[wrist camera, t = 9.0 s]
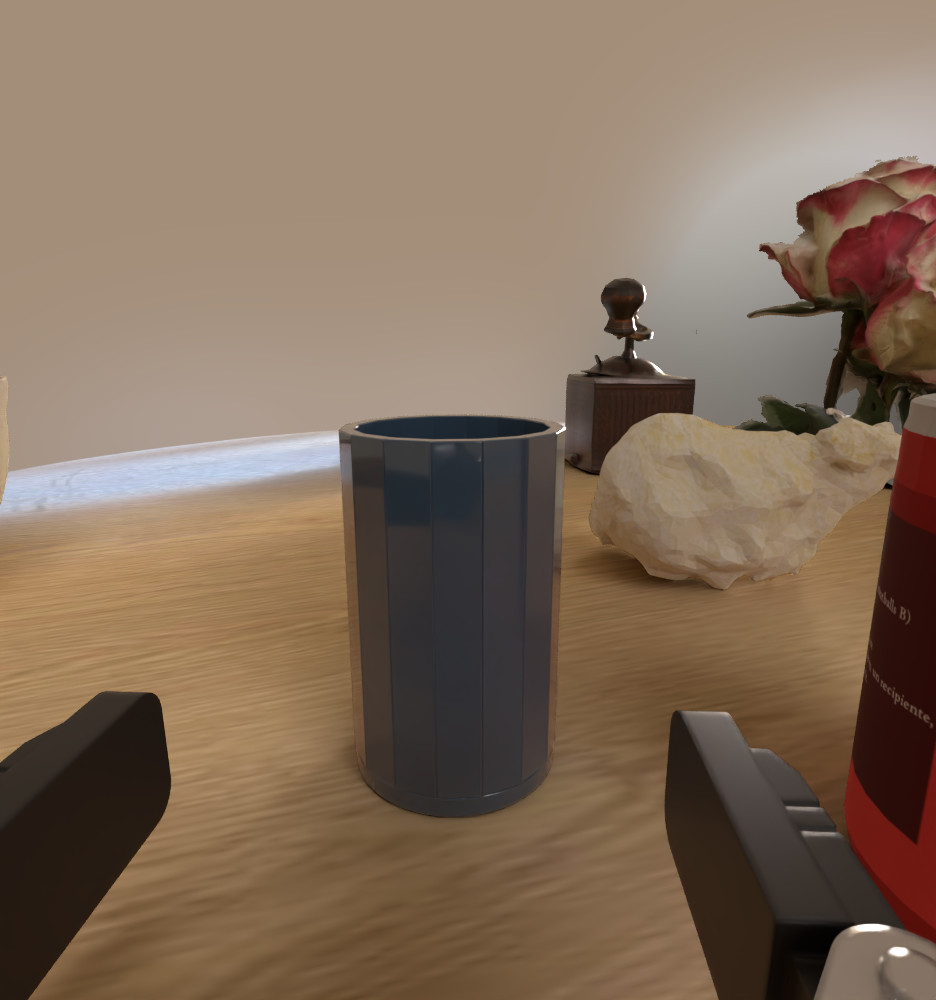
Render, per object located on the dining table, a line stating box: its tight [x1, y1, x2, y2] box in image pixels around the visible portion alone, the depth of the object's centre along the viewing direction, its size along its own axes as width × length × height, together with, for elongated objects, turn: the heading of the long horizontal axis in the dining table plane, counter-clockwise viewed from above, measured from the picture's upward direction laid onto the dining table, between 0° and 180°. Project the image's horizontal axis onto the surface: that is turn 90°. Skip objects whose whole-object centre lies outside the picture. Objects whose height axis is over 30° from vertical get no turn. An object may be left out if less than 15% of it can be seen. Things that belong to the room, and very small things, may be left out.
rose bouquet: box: [696, 156, 936, 486], centre depth 64 cm, size 26×29×30 cm
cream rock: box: [589, 408, 902, 590], centre depth 34 cm, size 15×7×15 cm
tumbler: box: [339, 415, 565, 817], centre depth 18 cm, size 6×6×10 cm
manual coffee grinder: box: [565, 278, 695, 474], centre depth 62 cm, size 16×11×18 cm
